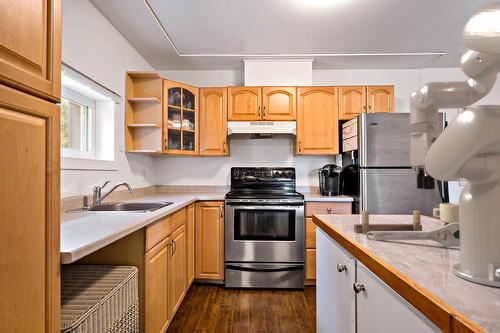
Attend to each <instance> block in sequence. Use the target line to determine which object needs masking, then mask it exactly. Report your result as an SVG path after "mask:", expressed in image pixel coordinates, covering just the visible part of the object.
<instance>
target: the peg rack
mask: <svg viewBox="0 0 500 333" xmlns="http://www.w3.org/2000/svg"><path fill="white" fill-rule="evenodd" d="M369 213H370V212H369V210H361V223H354V225H353V231H354V232H355V233H356V234H363V235H365V236H366V234H367V233H368V232H370V231H423V226H422V224H421V210H418V209H417V210H415V209H414V210H413V211H412V214H413V215H412V218H413V219H412V223H388V224H387V223H378V224H377V223H370V221H369V220H370V217H369V216H370V215H369ZM368 235H370V233H368Z"/></svg>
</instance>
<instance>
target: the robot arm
mask: <svg viewBox="0 0 500 333" xmlns="http://www.w3.org/2000/svg"><path fill="white" fill-rule="evenodd" d="M461 41H462V44H463V45H464V47H465V48H466V50H465V51H464V52H463V53H462V55H461V57H460V59H459V64H460V65H459V66H460V69H461V71H462V72H463V74H464V75H466V77H468V79H466V80H464V81H463V80H462V81H431V82H426V83H425V84H423V85H422V86H420V88H419V89H418V90H417V91H414V92H412V93H411V94H410V96H409V122H410V124H409V125H410V130H409V131H410V136H411V138H410V145H409V146H410V147H409V153H410V154H409V161H410V164H411V169H413V170H414V172H415V176H416V189H419V190H422V189H423V190H435V184H436V183H435V182H436V181H435V180H437V181H442V182H466V184H465V185H464V187H463V189H462V190H461V192H460V194H459V197H458V198H459V199H458V204H459V234H460V246H459V263H456V264H453V265H452V273H454V275H456V276H458V277H460V278H461V279H465V280H466V281H469V282H473V283H476V284H480V285H483V286H484V285H485V286H490V287H498V288H500V103H499V104H479V105H474V104H475V103H477V102H479V101H480V100H482V99H484V97H486V96H488V95H489V94H490V92H491V91H492V90H493V88H494V86H495V84H496V81H497V78H498V74H499V73H500V1H496V2H495V1H494V2H490V3H488V4H486V5H483V6H482V7H480V8H478V9H477V10H476V11H475V12H474V13H472V15H471V16H470V17H469V18H468V20H467V21H466V23H465V25H464V27H463V29H462V34H461ZM472 105H473V106H472ZM443 109H446V110H447V109H453V110H454V109H463V110H461V111H460V112H458V114H456V115H455V116H454V117H453V119H451V121H450V122H449V123H448V124H447V125H446V127H445V128H444V129H443V131H442V132H441V133H440V130H439V129H440V126H439V125H440V122H439V120H440V119H439V110H443Z"/></svg>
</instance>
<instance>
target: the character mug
mask: <svg viewBox="0 0 500 333" xmlns="http://www.w3.org/2000/svg"><path fill="white" fill-rule="evenodd" d="M432 211H433V217H434V219H435V218H436V219H439V220H440V222H442V223H444V224H443V226H445V225H448V224H450V223H459V203H453V202H452V203H451V202H444V203H439V208H435V207H434V208H433V210H432ZM438 212H439V214H437V213H438ZM453 235H454V237H455V238H457V239H460V234H459V229H458V230H457V231H456V232H454V233H453Z"/></svg>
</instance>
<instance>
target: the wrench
mask: <svg viewBox="0 0 500 333" xmlns="http://www.w3.org/2000/svg"><path fill="white" fill-rule="evenodd" d="M458 229H459V223H450V224H448V225H445V226H444V225H442V226H441V227H438V228H434V229H431V230H422V231H370V232H368V233H369V234H373V238H370V237H369V236H368V235H369V234H368V233H367V234H366V235H365V237H366V239H367V240H369V241H370V240H371V241H433V242H437V243H439V244H441V245H442V248H444V249H450V247H460V239H457V238H455V237H454V235H453V233H454V232H456V231H457V230H458Z"/></svg>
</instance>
